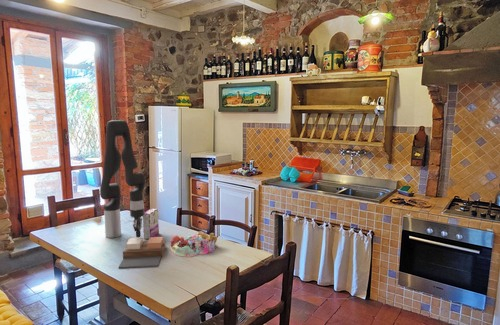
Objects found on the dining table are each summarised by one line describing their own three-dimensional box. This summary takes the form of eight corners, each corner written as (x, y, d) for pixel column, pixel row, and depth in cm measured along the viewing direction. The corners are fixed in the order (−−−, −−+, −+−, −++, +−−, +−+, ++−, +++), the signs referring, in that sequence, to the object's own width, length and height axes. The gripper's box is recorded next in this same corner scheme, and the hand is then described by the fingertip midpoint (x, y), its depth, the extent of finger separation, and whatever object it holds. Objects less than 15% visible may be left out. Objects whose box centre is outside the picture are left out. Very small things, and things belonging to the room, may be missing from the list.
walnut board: (129, 248, 192) (129, 241, 191) (165, 246, 194) (165, 240, 194) (123, 259, 177) (122, 252, 176) (161, 257, 179) (161, 250, 179)
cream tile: (130, 243, 189) (129, 238, 188) (142, 242, 190) (142, 237, 189) (126, 249, 180) (126, 244, 180) (139, 248, 181) (139, 243, 180)
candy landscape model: (195, 238, 209) (195, 224, 208) (224, 246, 195) (224, 231, 194) (163, 251, 189) (163, 235, 187) (194, 261, 175) (193, 244, 174)
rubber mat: (124, 259, 177) (123, 257, 177) (160, 257, 179) (160, 256, 179) (118, 268, 166) (118, 267, 166) (157, 266, 168) (157, 265, 168)
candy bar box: (152, 232, 217) (151, 208, 215) (159, 233, 216) (158, 208, 214) (143, 239, 207) (142, 213, 204) (150, 239, 206) (149, 213, 203)
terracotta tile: (150, 242, 190) (150, 237, 190) (162, 241, 191) (162, 236, 191) (147, 248, 181) (147, 243, 181) (160, 247, 182) (160, 242, 182)
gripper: (132, 205, 198) (134, 233, 200) (127, 211, 185) (129, 241, 187) (145, 204, 199) (147, 232, 201) (141, 210, 186) (142, 240, 188)
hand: (138, 236), depth 194 cm, fingers closed
